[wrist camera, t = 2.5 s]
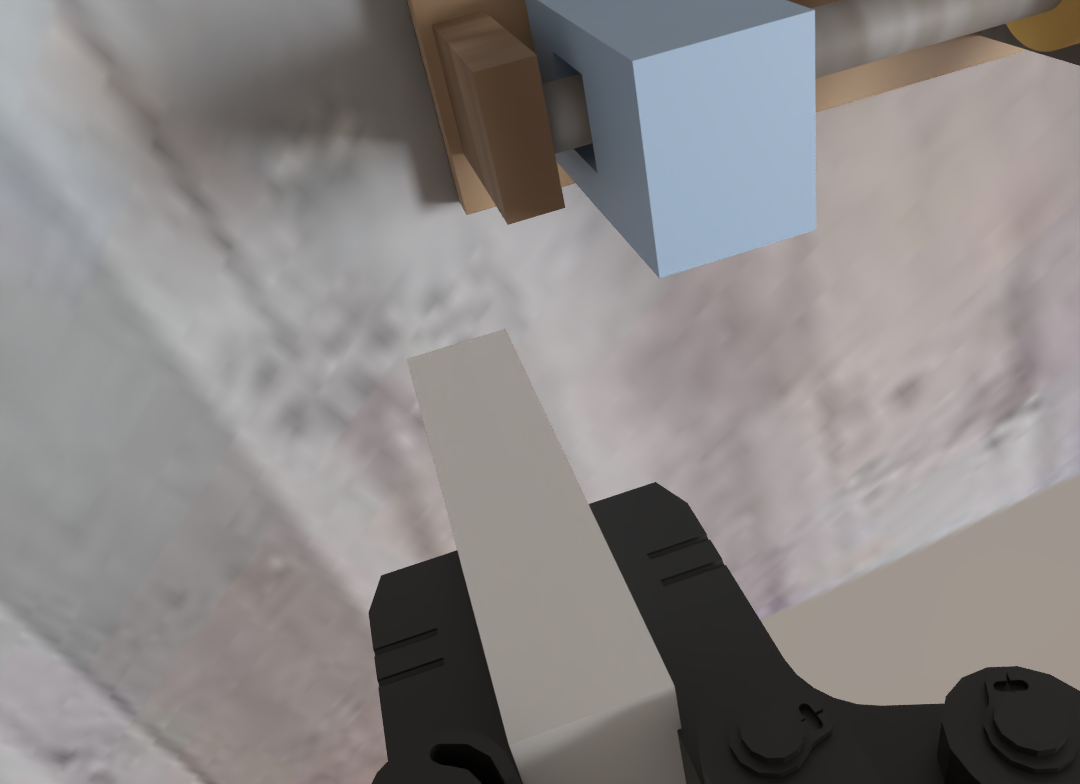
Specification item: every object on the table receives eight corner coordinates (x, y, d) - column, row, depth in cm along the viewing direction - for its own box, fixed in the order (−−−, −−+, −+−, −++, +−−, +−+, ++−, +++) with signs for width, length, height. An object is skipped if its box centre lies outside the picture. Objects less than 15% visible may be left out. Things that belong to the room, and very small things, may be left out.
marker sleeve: (555, 159, 28) (659, 278, 20) (523, -9, 25) (631, 61, 18) (673, 125, 28) (816, 229, 21) (656, -45, 25) (814, 9, 18)
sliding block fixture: (459, 202, 30) (537, 346, 22) (393, -52, 26) (460, 11, 17) (1028, 36, 33) (1290, 110, 24) (1061, -223, 28) (1400, -241, 20)
